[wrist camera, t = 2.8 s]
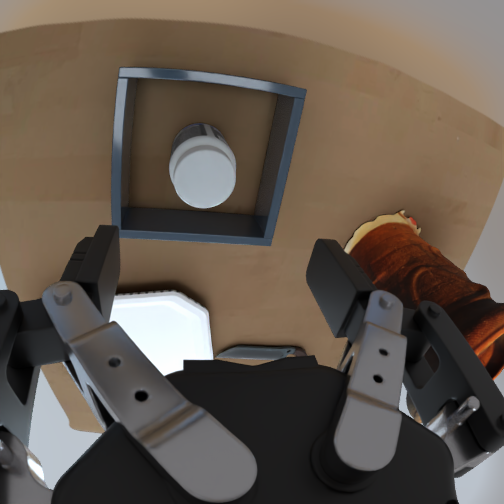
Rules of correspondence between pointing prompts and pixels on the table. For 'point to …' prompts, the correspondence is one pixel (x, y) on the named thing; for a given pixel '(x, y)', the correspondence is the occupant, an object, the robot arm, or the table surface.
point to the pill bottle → (202, 166)
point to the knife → (261, 352)
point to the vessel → (429, 286)
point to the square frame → (199, 222)
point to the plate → (165, 327)
